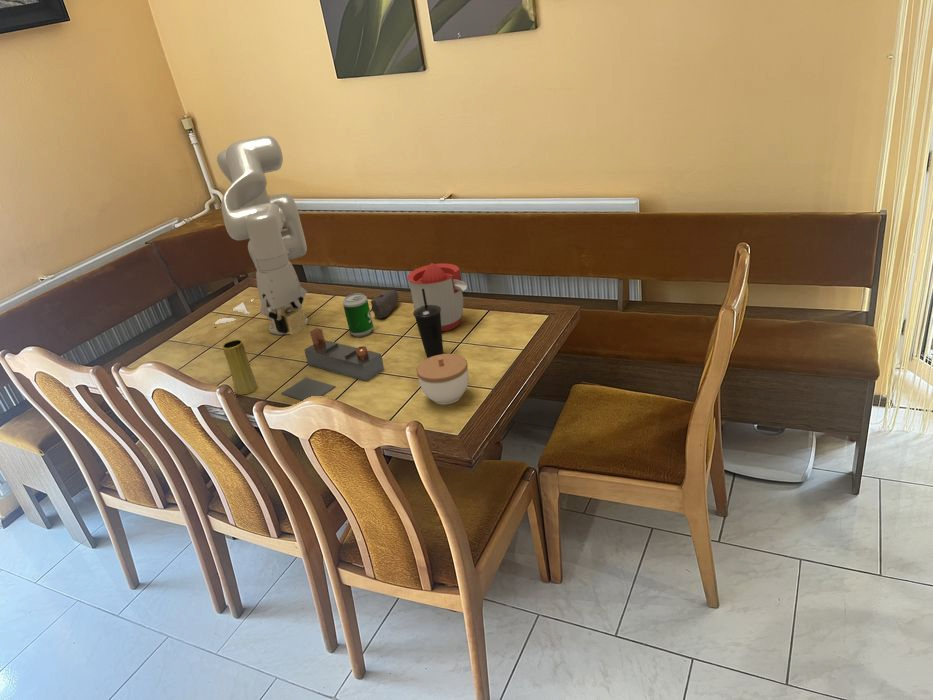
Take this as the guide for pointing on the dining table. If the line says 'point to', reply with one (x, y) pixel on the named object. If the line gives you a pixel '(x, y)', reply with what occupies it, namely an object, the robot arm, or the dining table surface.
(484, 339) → the dining table surface
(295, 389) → the mat
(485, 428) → the dining table surface
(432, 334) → the drinking cup
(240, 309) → the paper scraps
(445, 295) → the citrus juicer
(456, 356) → the lidded bowl
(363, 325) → the soda can
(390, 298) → the perforated stone tool
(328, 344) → the plane body
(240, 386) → the vase
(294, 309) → the lever cap
